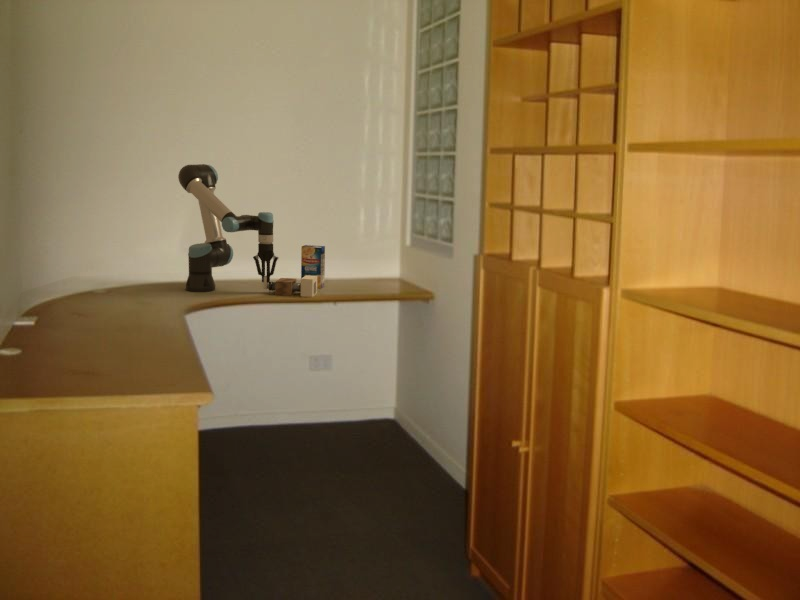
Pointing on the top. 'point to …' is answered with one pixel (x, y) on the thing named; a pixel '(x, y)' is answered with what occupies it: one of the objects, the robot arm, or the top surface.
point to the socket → (308, 286)
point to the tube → (295, 287)
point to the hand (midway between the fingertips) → (265, 288)
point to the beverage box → (313, 263)
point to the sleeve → (284, 287)
